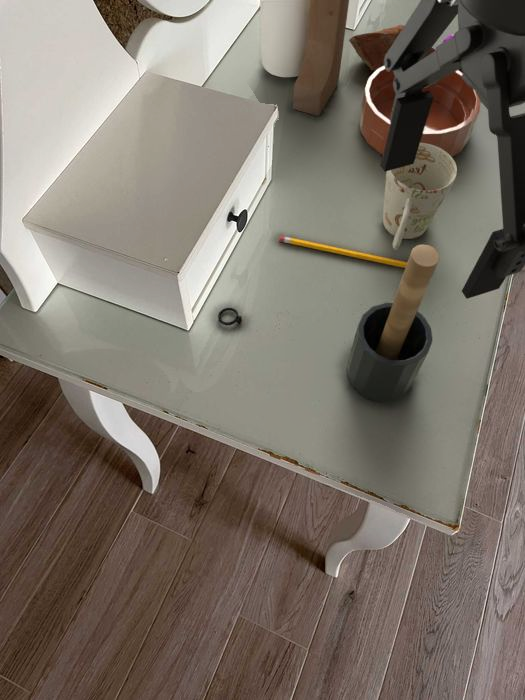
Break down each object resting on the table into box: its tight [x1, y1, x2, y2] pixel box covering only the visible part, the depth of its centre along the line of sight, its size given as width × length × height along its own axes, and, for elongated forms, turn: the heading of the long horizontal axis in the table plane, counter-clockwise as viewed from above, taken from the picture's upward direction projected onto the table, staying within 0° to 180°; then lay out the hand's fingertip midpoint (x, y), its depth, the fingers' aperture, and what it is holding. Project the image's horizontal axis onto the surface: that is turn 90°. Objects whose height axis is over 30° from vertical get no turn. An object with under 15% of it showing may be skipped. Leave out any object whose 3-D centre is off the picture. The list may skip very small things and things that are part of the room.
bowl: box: [358, 66, 482, 158], centre depth 86 cm, size 16×16×6 cm
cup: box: [259, 0, 310, 78], centre depth 89 cm, size 8×8×14 cm
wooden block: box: [292, 0, 350, 117], centre depth 84 cm, size 9×4×18 cm, turn 157°
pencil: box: [278, 235, 408, 269], centre depth 76 cm, size 1×19×1 cm, turn 75°
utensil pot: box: [346, 301, 433, 403], centre depth 64 cm, size 8×8×9 cm
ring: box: [217, 307, 243, 326], centre depth 71 cm, size 2×1×3 cm
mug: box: [382, 143, 458, 251], centre depth 74 cm, size 8×13×10 cm, turn 162°
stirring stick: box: [374, 244, 440, 360], centre depth 58 cm, size 4×4×21 cm
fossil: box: [348, 24, 436, 73], centre depth 92 cm, size 13×8×10 cm
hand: (435, 223), depth 46 cm, fingers open, 13 cm apart
